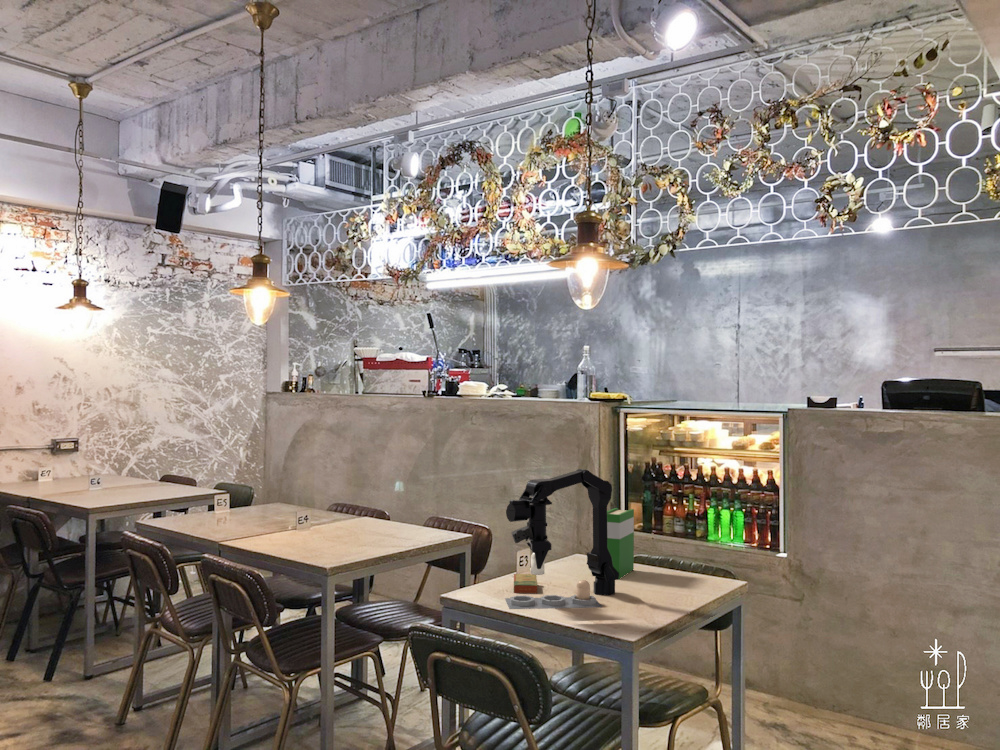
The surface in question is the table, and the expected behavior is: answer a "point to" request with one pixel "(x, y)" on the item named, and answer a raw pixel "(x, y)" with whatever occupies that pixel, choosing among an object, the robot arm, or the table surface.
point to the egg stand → (550, 602)
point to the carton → (525, 583)
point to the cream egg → (534, 566)
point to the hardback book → (621, 539)
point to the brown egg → (583, 590)
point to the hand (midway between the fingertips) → (537, 567)
